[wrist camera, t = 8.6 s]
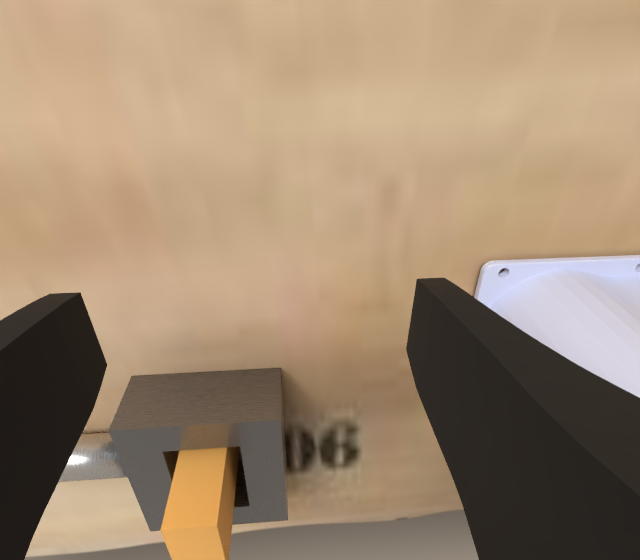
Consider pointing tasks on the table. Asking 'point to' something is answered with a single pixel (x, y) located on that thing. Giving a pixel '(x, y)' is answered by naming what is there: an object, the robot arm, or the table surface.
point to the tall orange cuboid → (201, 504)
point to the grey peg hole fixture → (193, 439)
